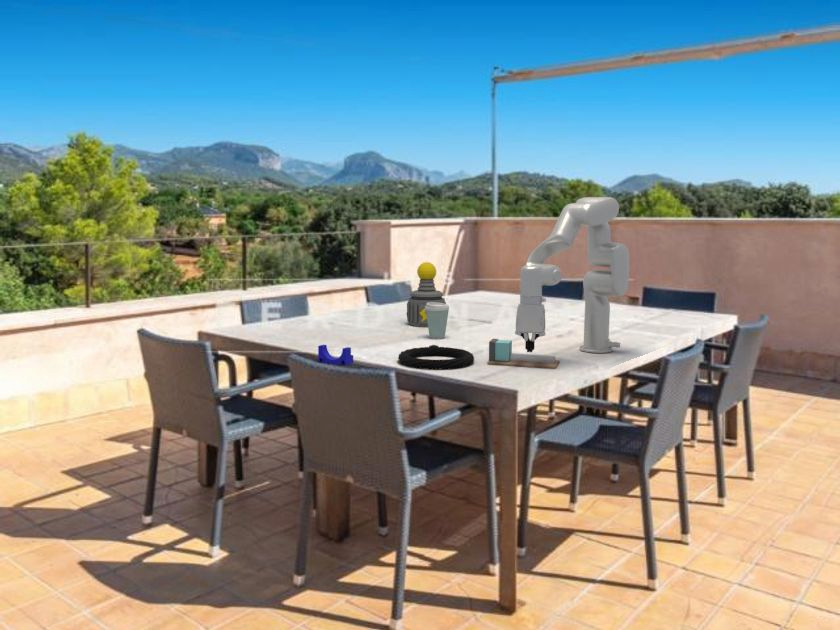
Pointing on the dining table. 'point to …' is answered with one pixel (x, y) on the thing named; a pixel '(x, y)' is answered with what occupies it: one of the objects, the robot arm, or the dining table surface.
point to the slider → (503, 350)
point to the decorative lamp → (423, 296)
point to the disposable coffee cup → (437, 319)
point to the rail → (532, 358)
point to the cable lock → (460, 361)
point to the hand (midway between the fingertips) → (529, 351)
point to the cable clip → (327, 358)
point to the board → (524, 364)
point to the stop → (492, 349)
